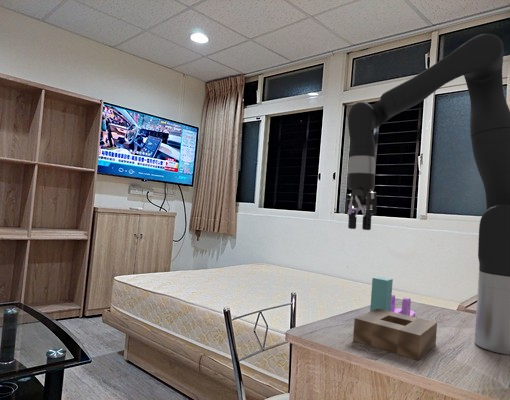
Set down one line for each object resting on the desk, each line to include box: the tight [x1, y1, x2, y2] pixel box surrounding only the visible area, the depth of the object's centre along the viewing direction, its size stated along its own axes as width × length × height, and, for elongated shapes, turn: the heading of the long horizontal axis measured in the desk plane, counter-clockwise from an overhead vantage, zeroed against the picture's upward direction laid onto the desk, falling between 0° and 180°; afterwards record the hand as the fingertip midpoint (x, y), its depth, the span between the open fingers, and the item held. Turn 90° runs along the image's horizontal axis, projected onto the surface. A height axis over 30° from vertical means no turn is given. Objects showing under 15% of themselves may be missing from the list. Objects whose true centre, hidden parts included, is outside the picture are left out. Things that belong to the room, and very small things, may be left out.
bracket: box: [391, 294, 416, 317], centre depth 107 cm, size 13×6×7 cm, turn 144°
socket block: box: [352, 309, 438, 361], centre depth 84 cm, size 14×14×5 cm
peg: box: [369, 276, 393, 312], centre depth 99 cm, size 4×4×12 cm
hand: (358, 229), depth 106 cm, fingers open, 8 cm apart
